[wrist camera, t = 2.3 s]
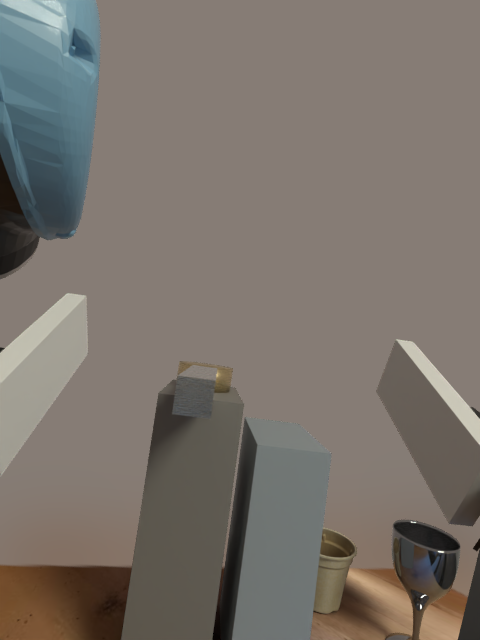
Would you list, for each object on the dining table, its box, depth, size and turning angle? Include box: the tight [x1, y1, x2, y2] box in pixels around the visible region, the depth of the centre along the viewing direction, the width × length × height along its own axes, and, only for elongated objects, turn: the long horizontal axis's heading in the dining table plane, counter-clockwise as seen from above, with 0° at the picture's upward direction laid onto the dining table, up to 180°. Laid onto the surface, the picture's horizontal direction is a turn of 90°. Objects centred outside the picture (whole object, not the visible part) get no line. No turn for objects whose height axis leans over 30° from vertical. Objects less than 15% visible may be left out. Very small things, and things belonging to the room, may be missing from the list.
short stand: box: [220, 417, 331, 640], centre depth 46 cm, size 8×15×26 cm, turn 4°
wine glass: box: [385, 520, 460, 640], centre depth 48 cm, size 8×8×15 cm
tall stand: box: [121, 380, 244, 640], centre depth 45 cm, size 9×15×30 cm, turn 4°
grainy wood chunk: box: [172, 361, 233, 419], centre depth 41 cm, size 7×23×3 cm, turn 3°
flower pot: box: [313, 528, 357, 614], centre depth 57 cm, size 9×9×9 cm
